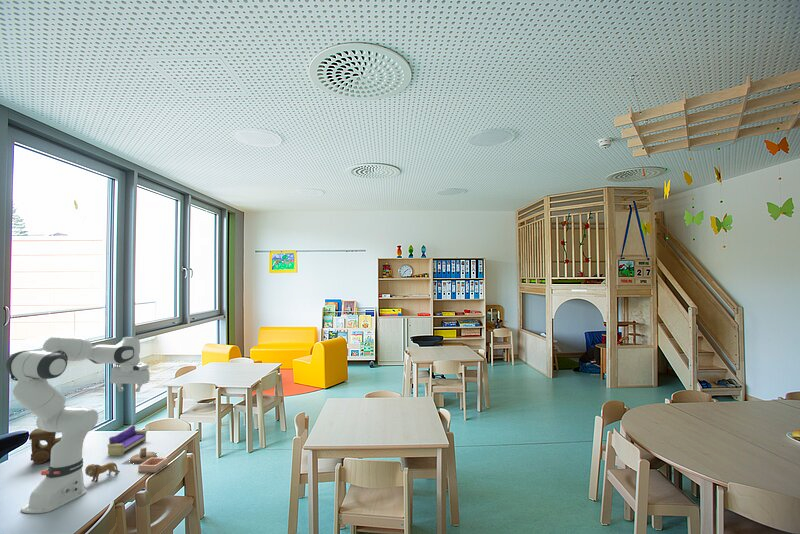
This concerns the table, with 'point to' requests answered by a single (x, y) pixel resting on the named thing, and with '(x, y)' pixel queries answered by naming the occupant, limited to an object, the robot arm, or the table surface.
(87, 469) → the lion figurine
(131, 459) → the lid
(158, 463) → the open box
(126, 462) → the mat
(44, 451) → the wooden toy train
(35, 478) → the table surface
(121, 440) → the toy sofa
